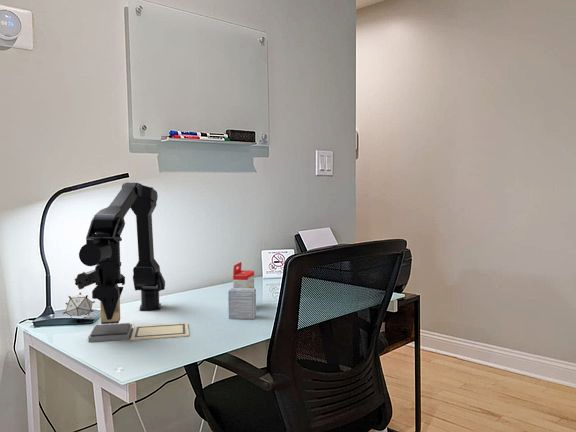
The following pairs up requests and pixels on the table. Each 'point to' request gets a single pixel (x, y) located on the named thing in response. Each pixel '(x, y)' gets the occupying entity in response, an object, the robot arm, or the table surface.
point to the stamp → (115, 316)
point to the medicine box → (242, 303)
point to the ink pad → (110, 332)
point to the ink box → (242, 277)
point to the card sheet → (160, 331)
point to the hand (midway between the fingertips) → (110, 317)
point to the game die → (79, 305)
